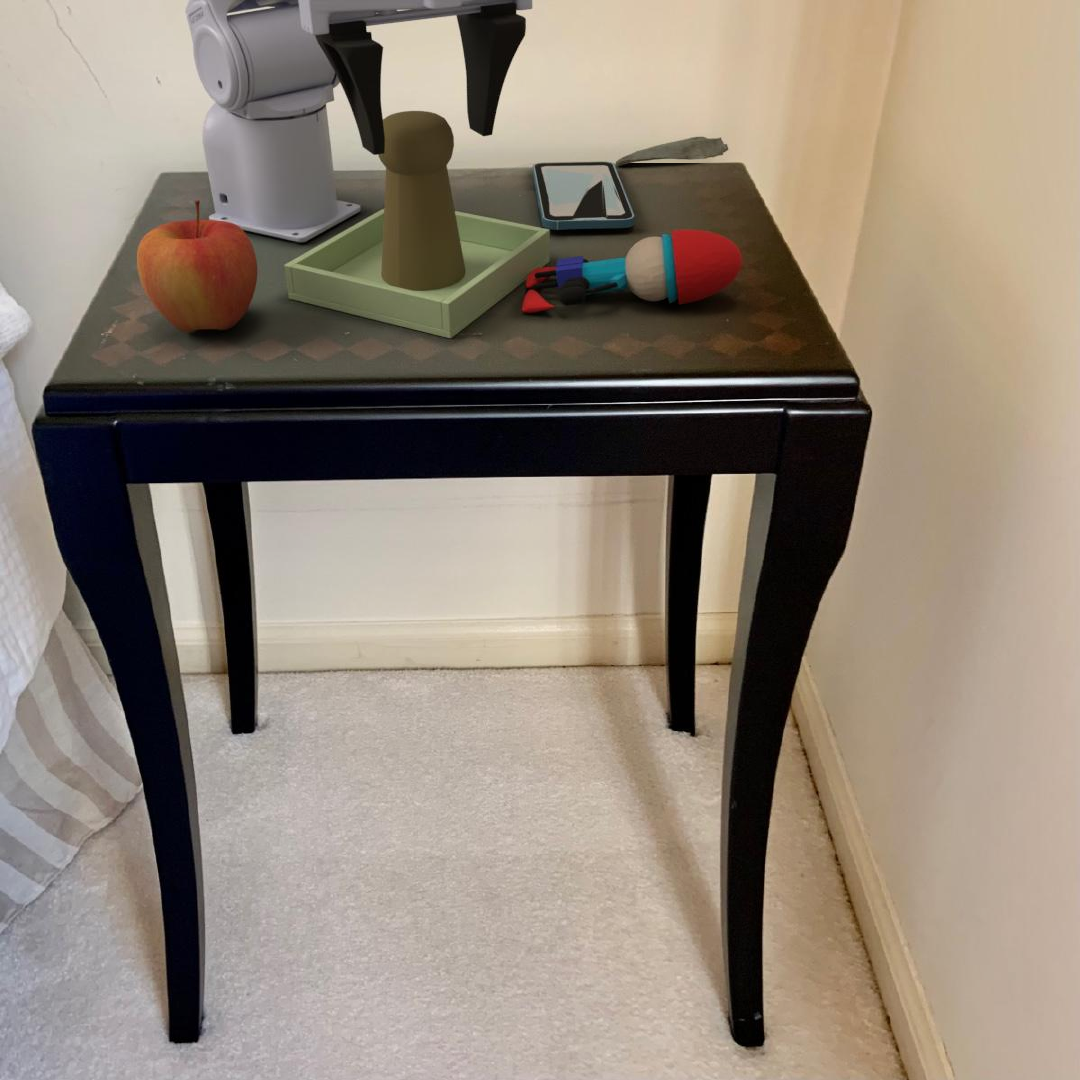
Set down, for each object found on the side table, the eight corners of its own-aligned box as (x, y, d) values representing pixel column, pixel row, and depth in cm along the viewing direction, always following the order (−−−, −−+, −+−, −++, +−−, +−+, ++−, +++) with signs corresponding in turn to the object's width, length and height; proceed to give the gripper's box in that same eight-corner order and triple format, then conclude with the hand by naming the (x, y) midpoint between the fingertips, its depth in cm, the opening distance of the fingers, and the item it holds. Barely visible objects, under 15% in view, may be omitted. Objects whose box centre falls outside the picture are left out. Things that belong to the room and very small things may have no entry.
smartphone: (614, 161, 97) (637, 219, 85) (613, 171, 98) (636, 231, 85) (531, 162, 97) (542, 221, 85) (531, 173, 97) (542, 233, 85)
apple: (136, 350, 70) (106, 229, 65) (174, 301, 76) (149, 187, 71) (248, 354, 70) (227, 232, 65) (278, 304, 75) (261, 189, 71)
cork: (430, 249, 82) (421, 96, 75) (483, 274, 78) (477, 115, 72) (364, 272, 79) (348, 114, 72) (415, 298, 75) (403, 135, 68)
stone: (623, 159, 96) (602, 140, 100) (623, 177, 97) (602, 157, 101) (736, 142, 99) (712, 124, 103) (734, 159, 100) (710, 140, 104)
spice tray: (288, 298, 76) (283, 264, 75) (401, 230, 86) (398, 199, 85) (450, 339, 71) (448, 303, 70) (549, 261, 81) (550, 229, 80)
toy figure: (525, 340, 74) (748, 312, 72) (512, 270, 72) (743, 238, 69) (534, 301, 81) (740, 274, 78) (523, 235, 78) (735, 205, 76)
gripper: (317, -83, 57) (346, 177, 65) (557, -102, 63) (556, 139, 71) (274, -99, 62) (305, 145, 70) (500, -115, 68) (504, 112, 76)
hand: (428, 140), depth 71 cm, fingers open, 7 cm apart
